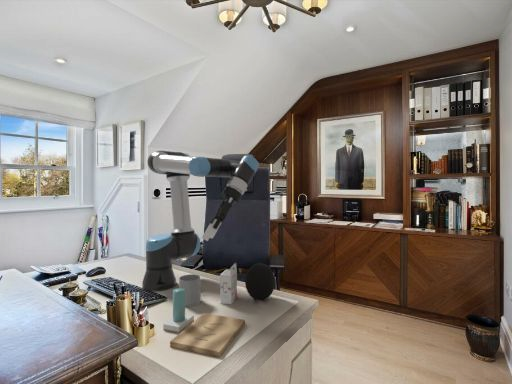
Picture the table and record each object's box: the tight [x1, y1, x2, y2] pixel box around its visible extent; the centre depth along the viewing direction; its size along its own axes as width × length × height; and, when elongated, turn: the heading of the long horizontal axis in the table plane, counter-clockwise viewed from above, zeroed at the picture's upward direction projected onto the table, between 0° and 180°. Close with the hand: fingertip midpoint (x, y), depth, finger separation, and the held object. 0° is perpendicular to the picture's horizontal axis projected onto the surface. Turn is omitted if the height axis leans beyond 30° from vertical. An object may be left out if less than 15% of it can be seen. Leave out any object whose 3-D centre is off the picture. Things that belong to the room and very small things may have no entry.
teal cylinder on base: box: [162, 287, 195, 334], centre depth 98 cm, size 6×9×12 cm, turn 161°
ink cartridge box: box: [219, 262, 238, 305], centre depth 119 cm, size 9×5×15 cm, turn 168°
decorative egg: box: [244, 262, 276, 301], centre depth 120 cm, size 12×12×15 cm
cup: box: [178, 273, 202, 307], centre depth 117 cm, size 8×8×10 cm
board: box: [169, 312, 246, 358], centre depth 92 cm, size 16×20×2 cm
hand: (206, 238), depth 107 cm, fingers open, 13 cm apart
